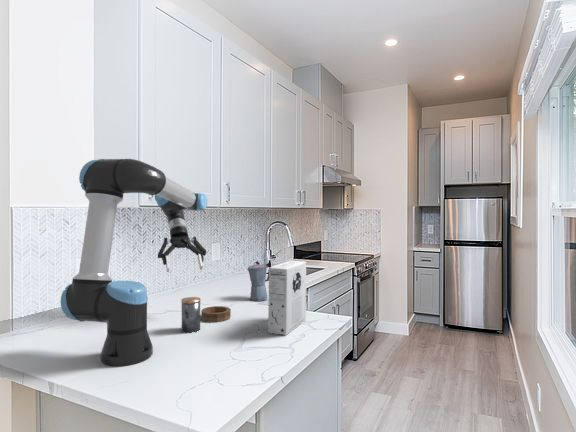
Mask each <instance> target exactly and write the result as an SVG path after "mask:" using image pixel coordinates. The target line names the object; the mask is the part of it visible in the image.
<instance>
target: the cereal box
mask: <svg viewBox="0 0 576 432" xmlns="http://www.w3.org/2000/svg"><path fill="white" fill-rule="evenodd" d="M268 270H269V271H268V272H269V281H268V314H267V315H268V320H267V322H268V329H267V330H268V332H269V333H268V334H272V333H275V334H274V335H278V334H283V335H282V336H285V335H286V336H288V335H289V334H290V333H291V332H293V331H294V330H295V329H296V328H297V327H299V326H300V325H301V324H302V323H304V322H305V321H306V320H307V319H306V318H307V317H306V316H307V309H306V308H307V261H304V260H303V261H302V260H287V261H285V262H282V263H279V264H276V265H273V266H271V267H270V268H269V267H268ZM298 325H299V326H298ZM293 329H294V330H293ZM292 330H293V331H292ZM288 333H289V334H288ZM287 334H288V335H287Z"/></svg>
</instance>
